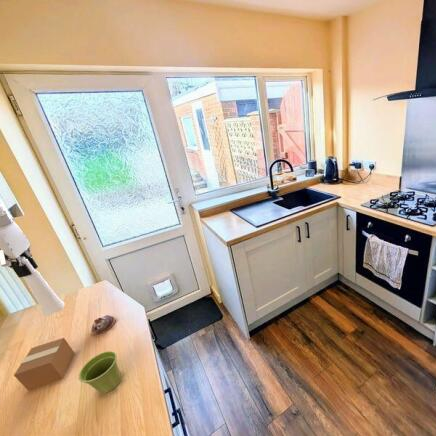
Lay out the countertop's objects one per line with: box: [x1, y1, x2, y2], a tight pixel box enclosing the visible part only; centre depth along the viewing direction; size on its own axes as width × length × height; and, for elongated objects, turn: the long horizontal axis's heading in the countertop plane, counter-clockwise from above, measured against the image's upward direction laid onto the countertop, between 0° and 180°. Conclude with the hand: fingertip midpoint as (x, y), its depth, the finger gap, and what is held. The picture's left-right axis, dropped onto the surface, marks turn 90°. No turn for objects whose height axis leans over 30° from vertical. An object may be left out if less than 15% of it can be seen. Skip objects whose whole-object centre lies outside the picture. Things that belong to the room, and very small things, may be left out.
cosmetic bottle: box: [14, 257, 66, 317], centre depth 83 cm, size 6×6×22 cm
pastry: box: [91, 314, 116, 335], centre depth 97 cm, size 8×8×5 cm
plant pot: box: [77, 350, 122, 395], centre depth 74 cm, size 9×9×9 cm
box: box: [13, 337, 75, 392], centre depth 80 cm, size 9×10×8 cm
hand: (28, 271), depth 81 cm, fingers closed on cosmetic bottle, 3 cm apart
